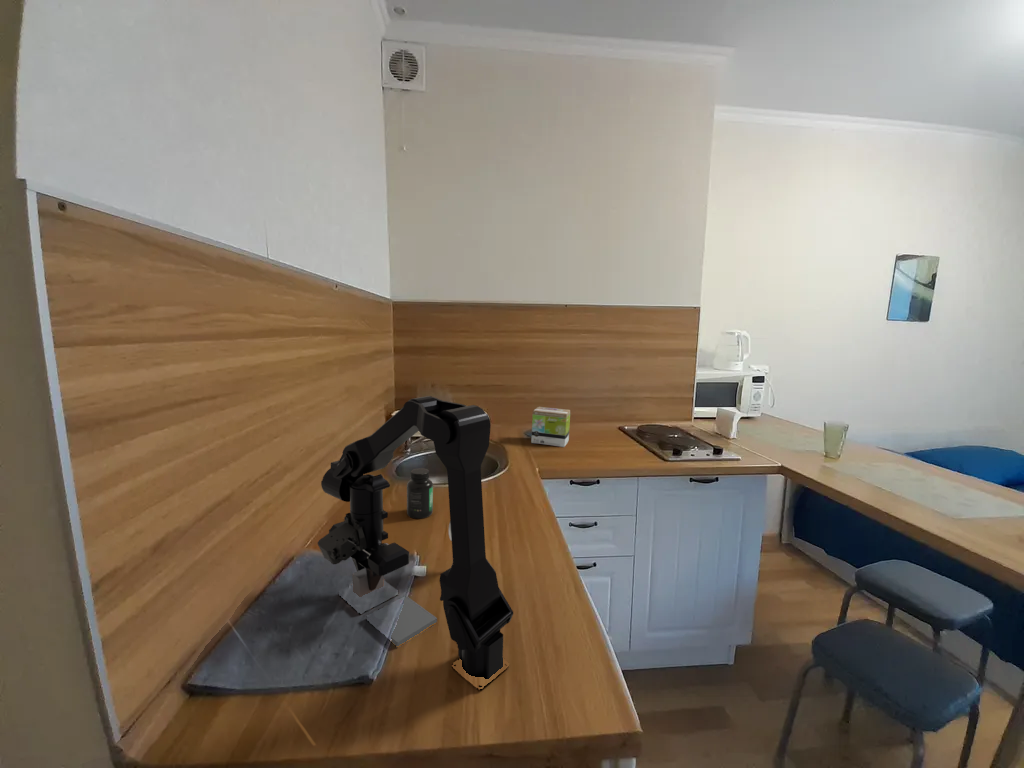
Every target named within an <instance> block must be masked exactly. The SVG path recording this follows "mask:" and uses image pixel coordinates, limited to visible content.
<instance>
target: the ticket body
mask: <svg viewBox="0 0 1024 768" xmlns="http://www.w3.org/2000/svg"><path fill="white" fill-rule="evenodd" d="M436 622H437V623H438V618H437V617H436V616H435V615H434V614H432V613H431V612H429V611H428V610H426V609H425V608H424V607H423V606H421V605H420V604H418V603H417V602H416V601H415V600H413V599H412V598H410V597H409V596H408V595H406V598H405V600H404V605H403V608H402V611H401V613H400V615H399V619H398V621H397V625H396V627H395V629H394V631H393V633H392V635H391V639H392V642H393V643H394V644H395V645H396V646H399V645H400V644H402V643H404V642H406V641H407V640H409V639H410V638H412V637H414V636H415V635H417V634H419V633H420V632H421V631H423V630H424V629H426V628H427V627H429V626H430V625H432V624H434V623H436Z"/></svg>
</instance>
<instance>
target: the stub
mask: <svg viewBox="0 0 1024 768" xmlns="http://www.w3.org/2000/svg"><path fill="white" fill-rule="evenodd" d="M384 576H385V575H384ZM384 576H381V579H380V581H379V583H378V585H377V587H376V588H375V589H374V590H376V589H379V588H381V587H383V586H384V580H385V578H384ZM351 579H352V580H351V581H352V584H353V592H354V593H356V594H357V595H358V596H359V597H362V596H363V595H365V594H368V593H370V592H372V591H374V590H372V591H370V590H369V586H368V580H367V573H366V568H364V569H362V570H359V571H357V570H356V571H355V572H352V577H351Z"/></svg>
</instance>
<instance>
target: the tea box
mask: <svg viewBox="0 0 1024 768" xmlns="http://www.w3.org/2000/svg"><path fill="white" fill-rule="evenodd" d="M531 417H532V418H531V419H532V420H531V421H532V422H531V434H530V435H531V437H530V438H531V442H530V443H531V444H540V445H548V446H554V447H560V448H565V447H566V445H567V444H568V443H569V439H570V424H571V422H570V421H571V409H564V408H556V407H544V406H537V407H536V408H534V410H532V416H531Z"/></svg>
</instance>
